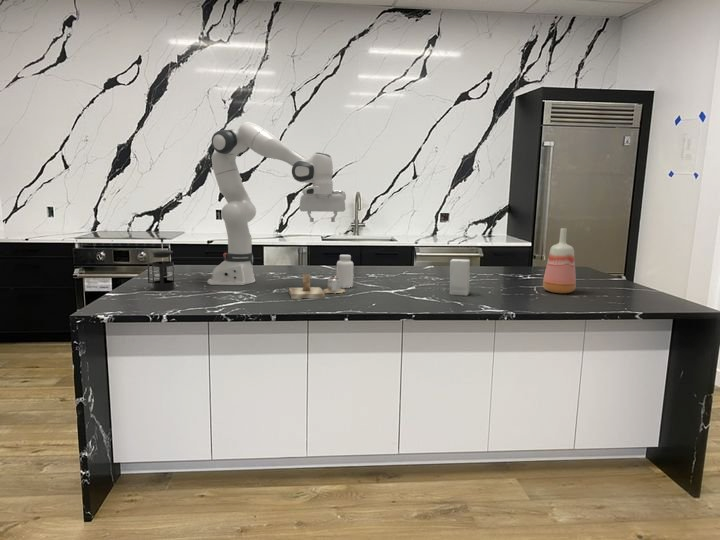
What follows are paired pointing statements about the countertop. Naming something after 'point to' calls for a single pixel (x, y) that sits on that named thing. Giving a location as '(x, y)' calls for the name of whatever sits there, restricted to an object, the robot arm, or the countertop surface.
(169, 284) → the french press
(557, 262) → the vase
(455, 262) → the skincare box
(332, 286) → the cap
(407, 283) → the countertop surface
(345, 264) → the pill bottle
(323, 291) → the coaster
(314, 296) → the post stand
